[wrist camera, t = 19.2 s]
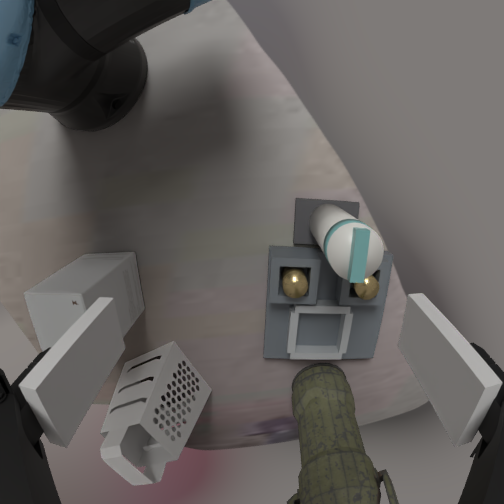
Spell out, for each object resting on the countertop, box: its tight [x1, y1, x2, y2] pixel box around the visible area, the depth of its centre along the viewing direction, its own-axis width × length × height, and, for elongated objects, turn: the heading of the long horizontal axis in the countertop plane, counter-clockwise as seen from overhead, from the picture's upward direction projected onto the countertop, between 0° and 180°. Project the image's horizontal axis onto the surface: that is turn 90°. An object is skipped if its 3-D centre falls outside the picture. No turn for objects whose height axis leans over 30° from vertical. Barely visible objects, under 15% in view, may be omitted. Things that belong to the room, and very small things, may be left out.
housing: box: [264, 246, 393, 360], centre depth 41 cm, size 16×16×5 cm
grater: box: [100, 341, 212, 485], centre depth 39 cm, size 10×10×20 cm
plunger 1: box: [281, 266, 308, 298], centre depth 38 cm, size 3×3×4 cm
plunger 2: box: [351, 275, 379, 300], centre depth 37 cm, size 3×3×4 cm
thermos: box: [287, 363, 399, 504], centre depth 30 cm, size 9×12×35 cm
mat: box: [293, 198, 359, 245], centre depth 40 cm, size 6×8×1 cm
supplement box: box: [24, 252, 145, 352], centre depth 37 cm, size 9×9×15 cm
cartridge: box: [309, 204, 384, 283], centre depth 32 cm, size 5×5×15 cm
